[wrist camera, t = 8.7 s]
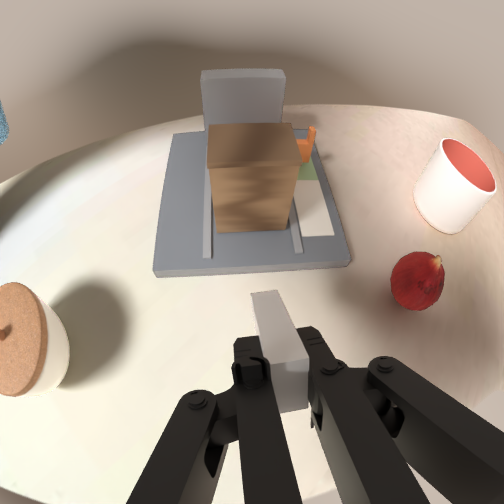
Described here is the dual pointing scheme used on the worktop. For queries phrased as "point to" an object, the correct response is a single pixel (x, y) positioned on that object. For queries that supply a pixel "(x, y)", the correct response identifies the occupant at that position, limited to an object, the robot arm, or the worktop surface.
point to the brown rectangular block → (252, 175)
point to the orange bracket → (306, 145)
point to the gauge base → (201, 204)
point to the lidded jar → (30, 344)
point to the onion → (417, 280)
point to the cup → (453, 187)
